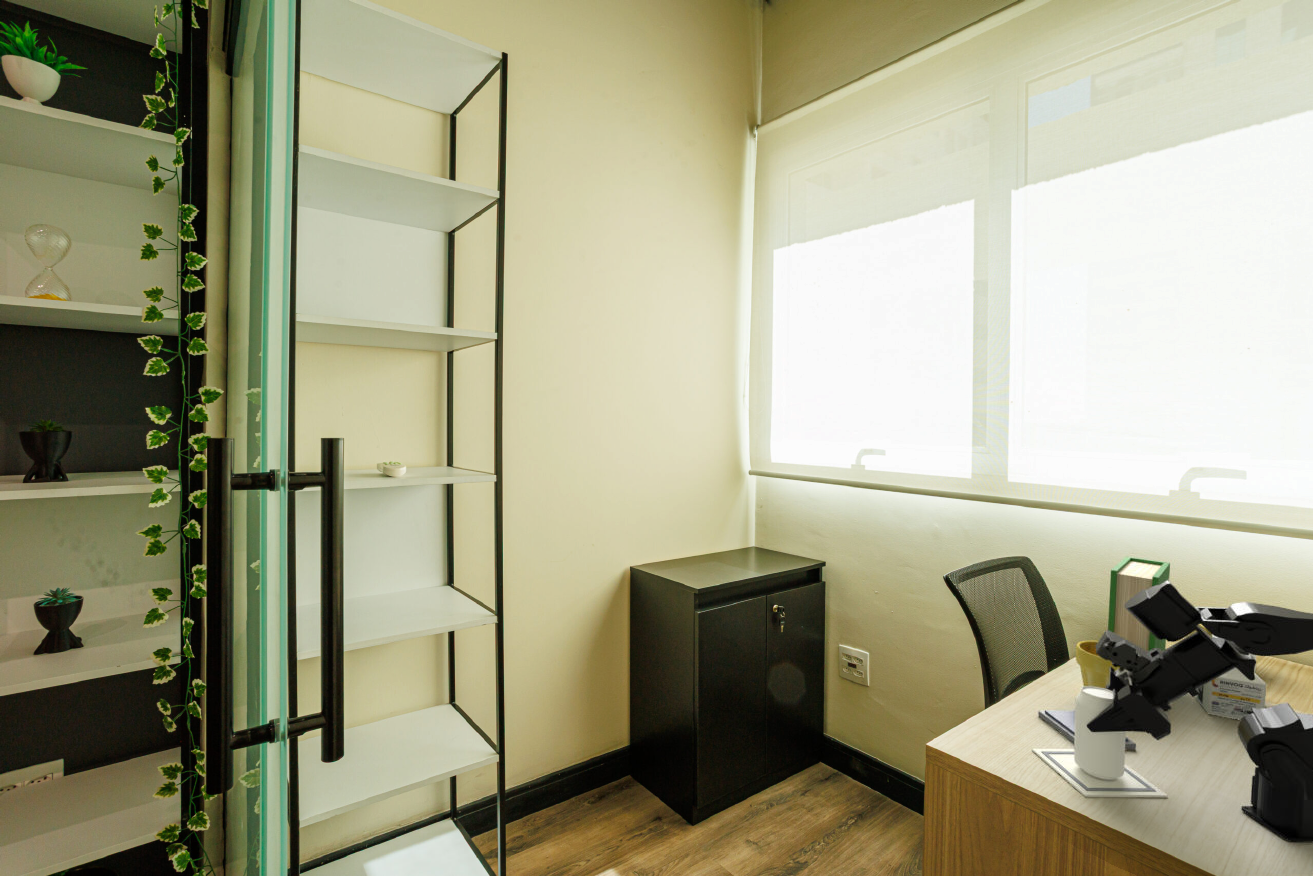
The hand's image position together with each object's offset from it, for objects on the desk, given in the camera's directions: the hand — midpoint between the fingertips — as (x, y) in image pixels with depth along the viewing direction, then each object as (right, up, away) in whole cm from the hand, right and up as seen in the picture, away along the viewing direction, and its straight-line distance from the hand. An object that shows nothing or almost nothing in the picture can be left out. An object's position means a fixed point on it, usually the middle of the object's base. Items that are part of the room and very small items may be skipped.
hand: (1088, 720), depth 94 cm
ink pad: (+8, -7, +12) cm, 16 cm away
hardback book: (+33, -7, +33) cm, 47 cm away
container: (+40, -8, +20) cm, 46 cm away
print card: (+1, -8, 0) cm, 8 cm away
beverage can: (+1, -8, -1) cm, 8 cm away
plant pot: (+20, -7, +24) cm, 32 cm away
